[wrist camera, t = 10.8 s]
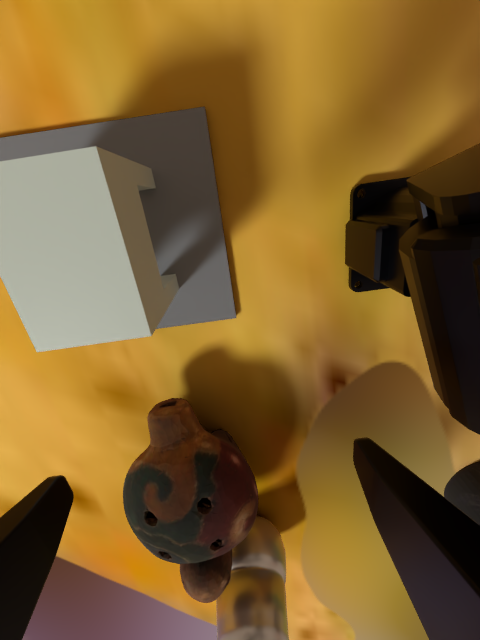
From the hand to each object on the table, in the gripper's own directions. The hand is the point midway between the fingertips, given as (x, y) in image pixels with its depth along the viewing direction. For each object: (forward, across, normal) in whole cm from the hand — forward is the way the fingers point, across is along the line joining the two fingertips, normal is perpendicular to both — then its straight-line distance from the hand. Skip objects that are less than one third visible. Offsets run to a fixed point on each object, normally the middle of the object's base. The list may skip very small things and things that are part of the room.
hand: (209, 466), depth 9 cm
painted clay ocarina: (+12, +4, +12) cm, 18 cm away
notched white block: (+12, +5, -6) cm, 14 cm away
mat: (+12, +5, -6) cm, 14 cm away
